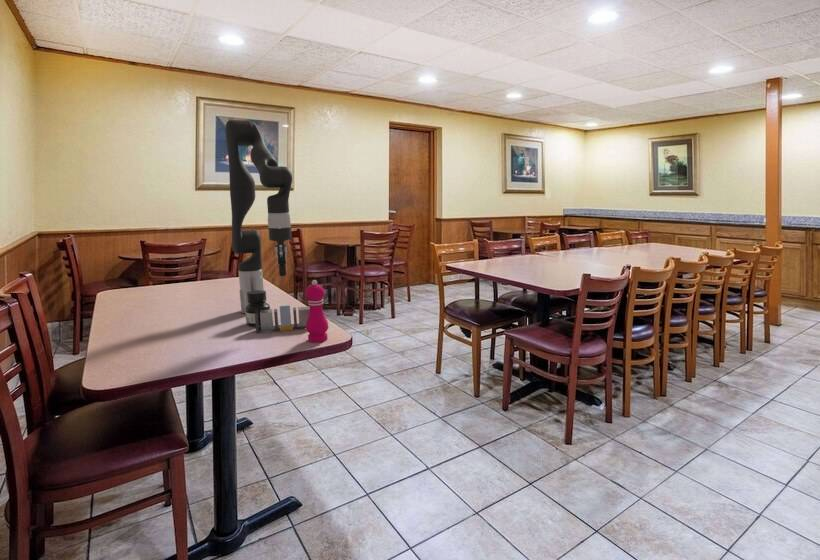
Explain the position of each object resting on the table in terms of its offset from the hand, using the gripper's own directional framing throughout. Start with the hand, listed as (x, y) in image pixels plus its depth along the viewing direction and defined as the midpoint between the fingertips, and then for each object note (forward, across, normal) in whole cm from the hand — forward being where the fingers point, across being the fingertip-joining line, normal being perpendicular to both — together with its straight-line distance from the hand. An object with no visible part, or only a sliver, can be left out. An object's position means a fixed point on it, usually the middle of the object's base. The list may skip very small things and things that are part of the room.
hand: (282, 275), depth 172 cm
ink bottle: (+20, -11, -10) cm, 25 cm away
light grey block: (+18, 0, 0) cm, 18 cm away
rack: (+19, 0, 0) cm, 19 cm away
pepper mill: (+19, +17, +10) cm, 28 cm away
